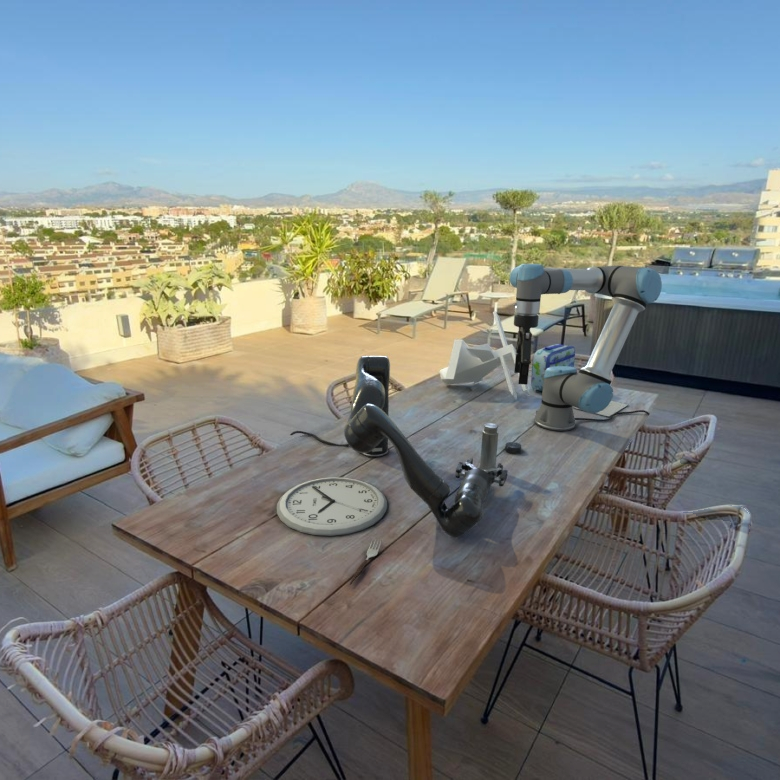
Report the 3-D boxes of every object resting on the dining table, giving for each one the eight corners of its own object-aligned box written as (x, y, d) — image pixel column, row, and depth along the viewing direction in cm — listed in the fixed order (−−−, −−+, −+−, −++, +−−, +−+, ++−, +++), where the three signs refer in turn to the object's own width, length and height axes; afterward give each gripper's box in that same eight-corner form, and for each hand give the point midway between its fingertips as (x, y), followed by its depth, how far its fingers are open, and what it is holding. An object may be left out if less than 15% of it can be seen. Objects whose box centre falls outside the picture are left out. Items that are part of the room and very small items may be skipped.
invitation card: (608, 416, 214) (573, 407, 224) (608, 416, 214) (573, 408, 224) (628, 404, 229) (594, 396, 238) (628, 405, 229) (594, 397, 238)
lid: (516, 447, 183) (516, 441, 182) (523, 453, 178) (524, 447, 178) (502, 448, 182) (502, 442, 181) (509, 454, 177) (510, 448, 176)
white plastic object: (461, 429, 252) (437, 405, 227) (444, 352, 274) (420, 323, 250) (535, 404, 240) (518, 377, 215) (510, 326, 262) (492, 293, 237)
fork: (344, 585, 111) (344, 577, 110) (372, 544, 125) (372, 537, 125) (355, 588, 110) (355, 580, 109) (382, 546, 124) (382, 539, 124)
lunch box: (547, 396, 238) (552, 351, 232) (526, 391, 246) (531, 347, 239) (574, 385, 256) (579, 343, 250) (554, 380, 263) (559, 340, 257)
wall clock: (392, 527, 129) (268, 531, 127) (391, 533, 130) (269, 537, 127) (383, 473, 158) (282, 475, 155) (383, 478, 158) (282, 480, 156)
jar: (479, 473, 163) (482, 427, 158) (479, 466, 167) (483, 422, 163) (495, 475, 162) (499, 429, 157) (495, 468, 167) (499, 423, 162)
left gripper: (448, 494, 146) (461, 470, 160) (499, 504, 141) (508, 479, 156) (450, 470, 143) (463, 448, 158) (502, 479, 139) (510, 456, 153)
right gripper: (511, 307, 178) (505, 368, 184) (518, 320, 155) (512, 388, 161) (533, 308, 177) (527, 369, 184) (544, 321, 154) (537, 389, 160)
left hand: (485, 463), depth 157 cm, fingers open, 8 cm apart
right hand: (520, 378), depth 172 cm, fingers open, 13 cm apart
